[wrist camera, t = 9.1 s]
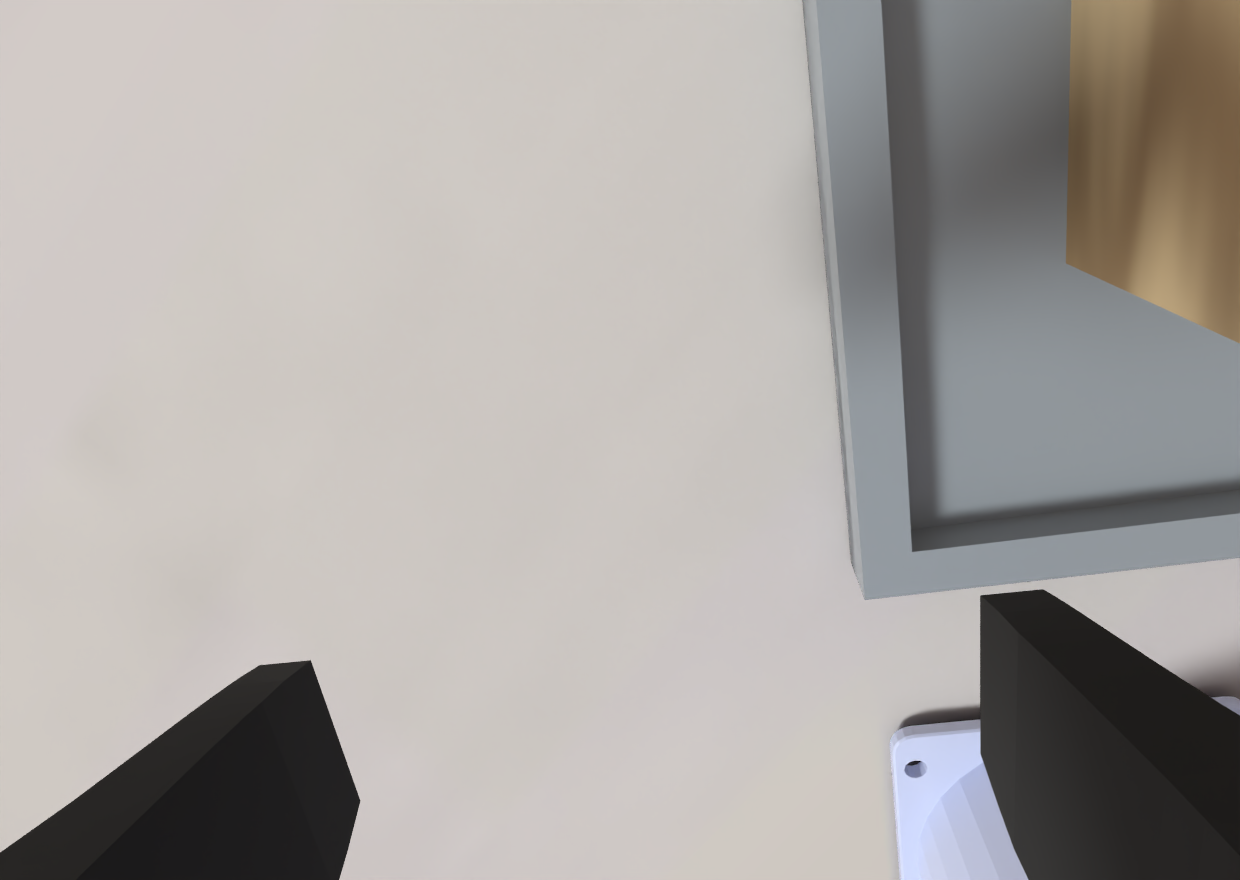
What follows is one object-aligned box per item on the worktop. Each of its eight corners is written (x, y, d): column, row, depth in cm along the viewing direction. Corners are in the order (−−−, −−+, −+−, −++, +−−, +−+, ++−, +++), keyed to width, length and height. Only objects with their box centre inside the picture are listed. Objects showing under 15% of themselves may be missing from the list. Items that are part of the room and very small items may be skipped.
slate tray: (1498, 486, 18) (1568, 520, 16) (851, 562, 19) (864, 600, 18) (1761, -673, 11) (1913, -778, 10) (766, -416, 13) (777, -475, 11)
